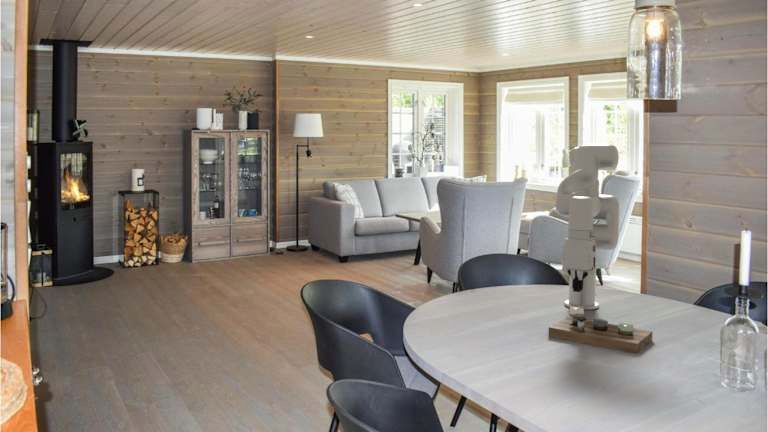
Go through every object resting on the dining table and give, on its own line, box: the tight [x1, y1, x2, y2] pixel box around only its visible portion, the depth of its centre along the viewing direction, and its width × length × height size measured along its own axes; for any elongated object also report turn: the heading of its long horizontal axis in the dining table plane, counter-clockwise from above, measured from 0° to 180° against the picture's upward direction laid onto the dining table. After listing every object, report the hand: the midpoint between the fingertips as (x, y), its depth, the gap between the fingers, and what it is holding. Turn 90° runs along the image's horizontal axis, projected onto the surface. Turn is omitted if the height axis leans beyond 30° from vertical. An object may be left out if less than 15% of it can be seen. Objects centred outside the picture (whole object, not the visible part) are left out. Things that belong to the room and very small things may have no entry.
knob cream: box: [568, 307, 585, 325], centre depth 228 cm, size 4×4×5 cm
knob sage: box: [618, 322, 634, 336], centre depth 219 cm, size 4×4×5 cm
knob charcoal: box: [592, 318, 609, 331], centre depth 223 cm, size 4×4×5 cm
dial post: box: [576, 315, 588, 333], centre depth 220 cm, size 3×3×5 cm
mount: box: [548, 316, 654, 354], centre depth 224 cm, size 16×28×3 cm, turn 54°
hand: (577, 291), depth 226 cm, fingers closed
